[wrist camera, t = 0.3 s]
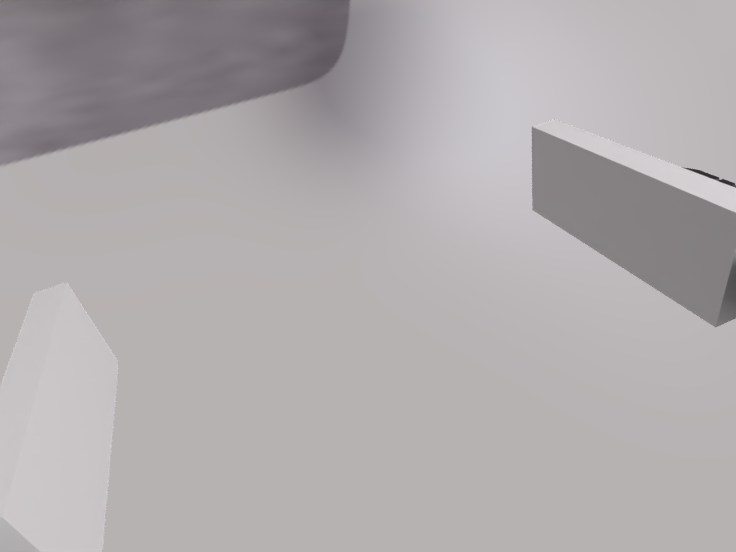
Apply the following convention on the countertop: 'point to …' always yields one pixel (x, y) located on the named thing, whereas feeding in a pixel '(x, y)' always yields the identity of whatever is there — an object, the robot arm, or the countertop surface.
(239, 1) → the countertop surface
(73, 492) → the robot arm
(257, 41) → the countertop surface
